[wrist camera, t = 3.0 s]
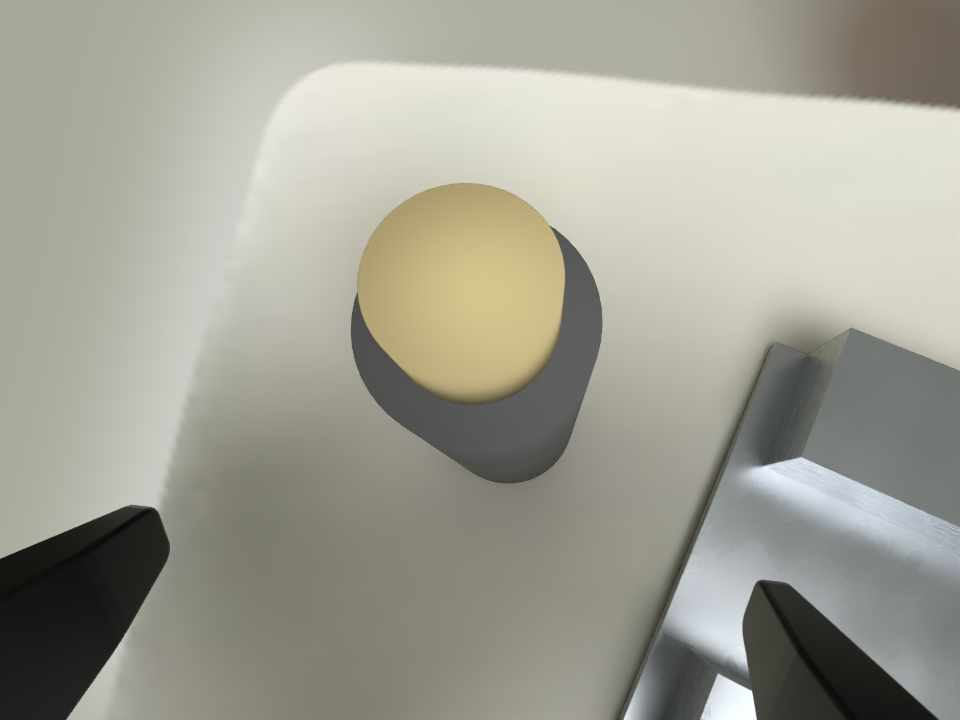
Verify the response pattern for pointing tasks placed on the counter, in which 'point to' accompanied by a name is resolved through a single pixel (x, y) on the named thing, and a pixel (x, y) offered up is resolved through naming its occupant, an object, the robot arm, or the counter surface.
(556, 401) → the grey and tan cylinder
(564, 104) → the counter surface
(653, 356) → the counter surface
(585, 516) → the counter surface
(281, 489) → the counter surface
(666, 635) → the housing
